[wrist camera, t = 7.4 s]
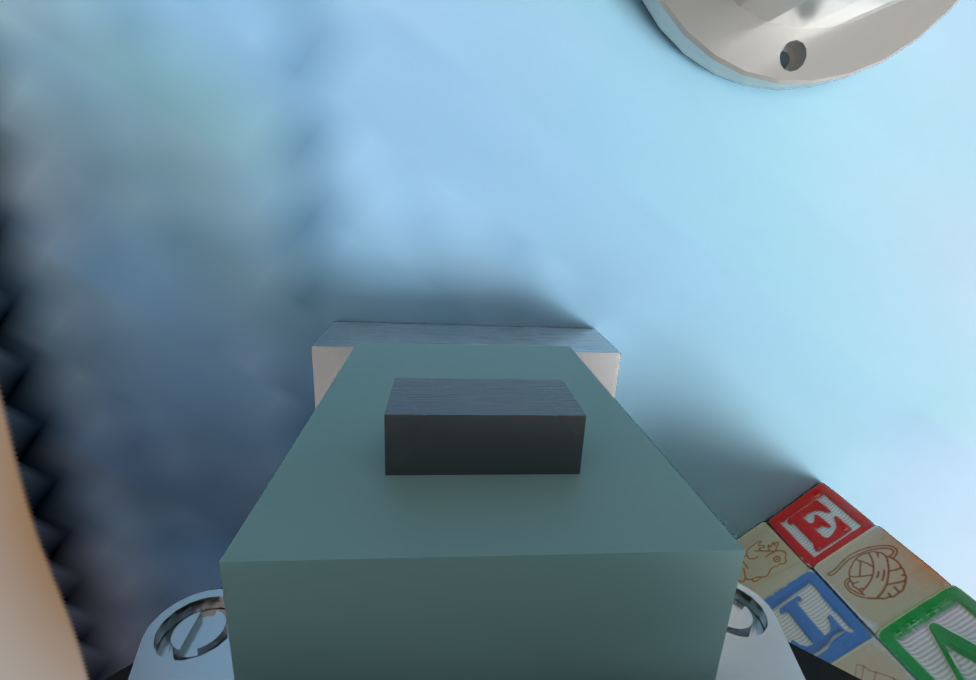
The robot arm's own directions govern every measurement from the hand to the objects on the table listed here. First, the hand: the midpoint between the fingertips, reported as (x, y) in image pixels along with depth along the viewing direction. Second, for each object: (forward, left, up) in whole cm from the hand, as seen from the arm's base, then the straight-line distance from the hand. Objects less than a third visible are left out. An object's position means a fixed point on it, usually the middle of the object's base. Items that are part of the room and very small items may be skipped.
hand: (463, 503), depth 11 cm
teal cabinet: (+2, 0, -1) cm, 2 cm away
